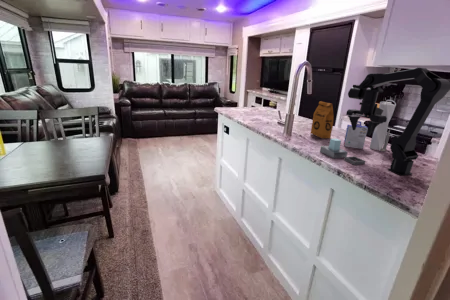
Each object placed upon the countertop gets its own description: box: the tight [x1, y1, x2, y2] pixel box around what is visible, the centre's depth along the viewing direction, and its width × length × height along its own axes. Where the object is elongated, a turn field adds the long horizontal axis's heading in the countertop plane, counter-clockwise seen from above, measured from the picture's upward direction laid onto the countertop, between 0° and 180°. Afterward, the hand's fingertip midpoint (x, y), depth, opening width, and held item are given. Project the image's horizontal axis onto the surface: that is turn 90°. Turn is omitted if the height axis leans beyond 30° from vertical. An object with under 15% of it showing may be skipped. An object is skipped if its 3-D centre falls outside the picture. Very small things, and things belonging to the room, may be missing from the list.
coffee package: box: [310, 100, 335, 139], centre depth 149 cm, size 10×12×22 cm
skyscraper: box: [369, 99, 397, 152], centre depth 128 cm, size 8×8×28 cm
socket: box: [319, 145, 348, 159], centre depth 120 cm, size 10×8×3 cm
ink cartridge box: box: [343, 120, 368, 150], centre depth 133 cm, size 10×6×14 cm, turn 72°
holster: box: [343, 155, 366, 166], centre depth 111 cm, size 6×6×2 cm
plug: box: [328, 138, 342, 151], centre depth 119 cm, size 4×4×8 cm
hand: (361, 132), depth 117 cm, fingers open, 9 cm apart
